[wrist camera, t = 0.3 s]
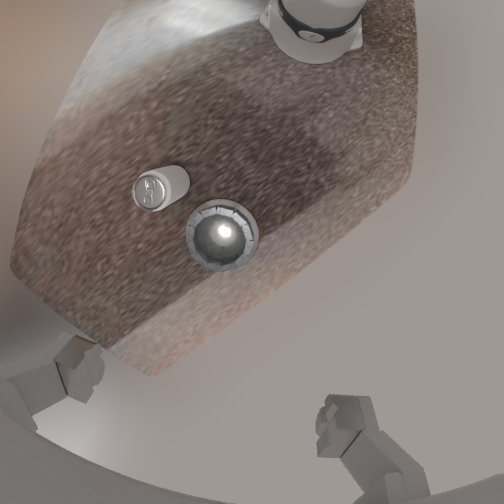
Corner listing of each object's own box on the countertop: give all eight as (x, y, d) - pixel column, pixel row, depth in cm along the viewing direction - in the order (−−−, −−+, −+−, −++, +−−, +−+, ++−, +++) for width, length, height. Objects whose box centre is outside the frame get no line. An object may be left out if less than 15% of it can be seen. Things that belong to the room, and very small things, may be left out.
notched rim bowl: (193, 191, 54) (188, 194, 51) (267, 208, 54) (266, 212, 51) (182, 259, 59) (177, 265, 56) (250, 276, 59) (248, 284, 56)
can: (194, 169, 52) (171, 176, 41) (186, 202, 55) (163, 218, 43) (162, 161, 52) (133, 167, 41) (155, 194, 55) (126, 208, 43)
